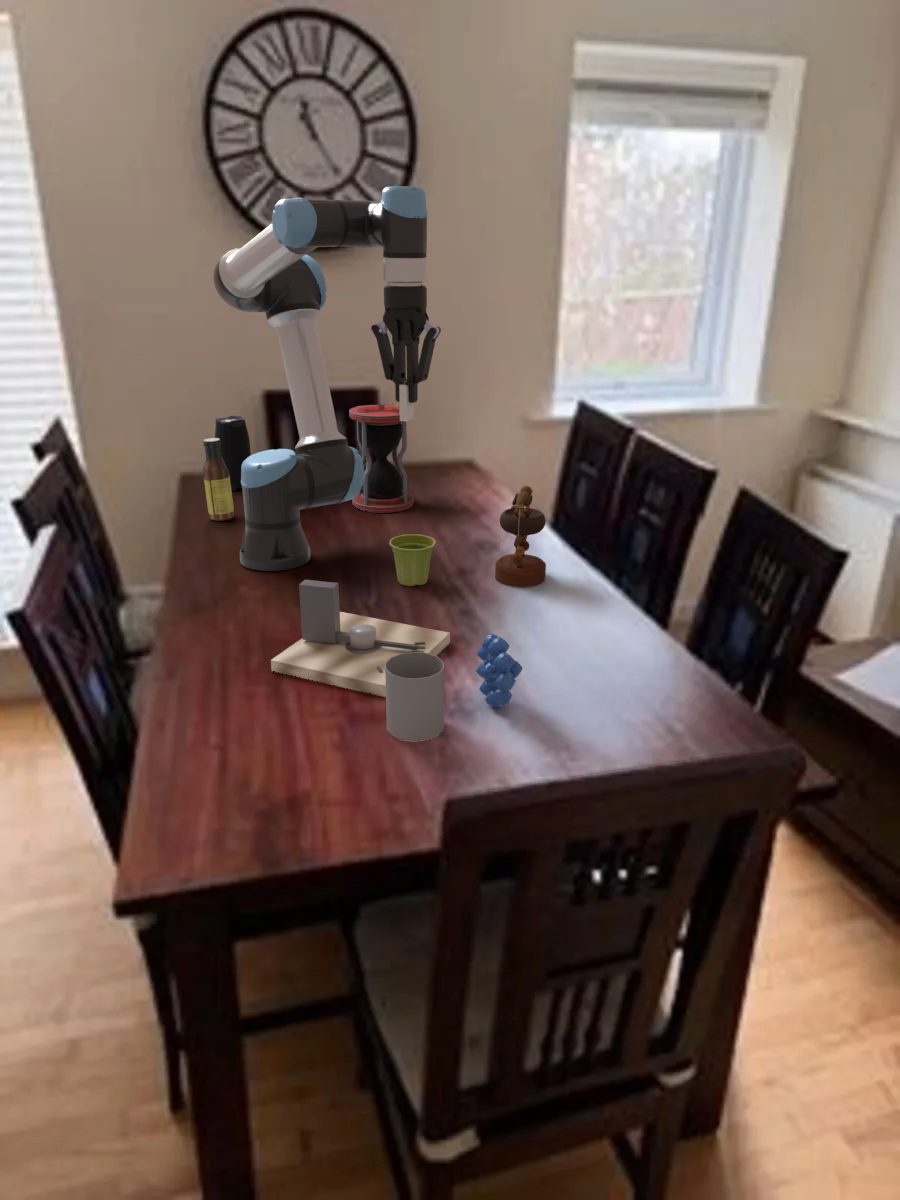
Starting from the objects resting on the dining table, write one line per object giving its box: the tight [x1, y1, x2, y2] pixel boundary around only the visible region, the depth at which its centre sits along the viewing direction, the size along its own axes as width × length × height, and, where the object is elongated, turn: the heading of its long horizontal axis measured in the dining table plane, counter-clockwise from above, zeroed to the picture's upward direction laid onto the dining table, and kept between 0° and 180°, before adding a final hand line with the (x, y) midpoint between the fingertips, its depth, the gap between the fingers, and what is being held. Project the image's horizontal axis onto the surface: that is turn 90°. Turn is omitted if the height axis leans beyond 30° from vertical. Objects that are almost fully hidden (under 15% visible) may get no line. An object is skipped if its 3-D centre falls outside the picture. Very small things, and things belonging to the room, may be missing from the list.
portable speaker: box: [214, 415, 252, 492], centre depth 244 cm, size 9×9×20 cm
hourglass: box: [348, 404, 415, 514], centre depth 228 cm, size 16×16×25 cm
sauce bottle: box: [202, 437, 235, 522], centre depth 217 cm, size 7×6×20 cm
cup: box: [385, 652, 445, 741], centre depth 126 cm, size 8×8×10 cm
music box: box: [494, 485, 547, 588], centre depth 181 cm, size 15×11×20 cm
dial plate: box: [270, 611, 451, 698], centre depth 148 cm, size 22×22×2 cm
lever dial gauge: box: [298, 579, 418, 650], centre depth 146 cm, size 20×4×10 cm, turn 75°
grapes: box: [475, 633, 524, 709], centre depth 131 cm, size 12×7×12 cm, turn 16°
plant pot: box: [388, 533, 437, 587], centre depth 180 cm, size 9×9×9 cm
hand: (406, 419), depth 162 cm, fingers closed
